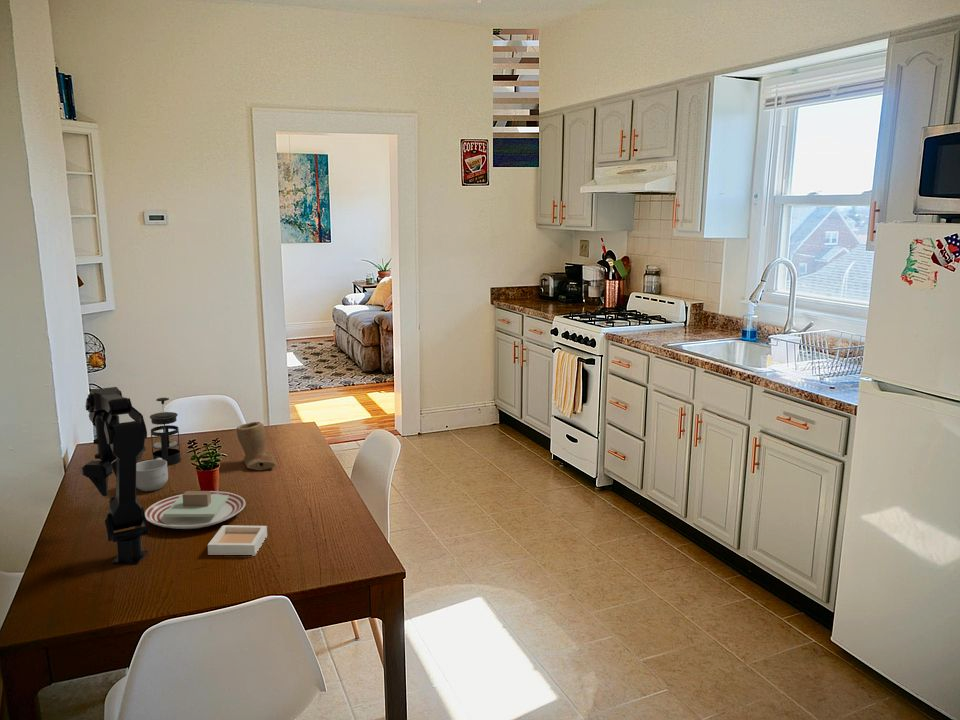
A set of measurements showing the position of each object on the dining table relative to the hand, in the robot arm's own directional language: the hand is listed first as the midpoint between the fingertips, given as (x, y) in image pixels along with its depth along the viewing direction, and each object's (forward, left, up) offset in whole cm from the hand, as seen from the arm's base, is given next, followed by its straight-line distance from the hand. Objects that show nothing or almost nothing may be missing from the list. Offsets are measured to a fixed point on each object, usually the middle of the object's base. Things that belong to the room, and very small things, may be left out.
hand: (113, 489), depth 198 cm
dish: (-6, -35, -13) cm, 38 cm away
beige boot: (+57, -22, -13) cm, 62 cm away
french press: (+59, +10, -13) cm, 61 cm away
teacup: (+36, +5, -13) cm, 39 cm away
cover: (+13, -18, -10) cm, 24 cm away
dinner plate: (+13, -17, -14) cm, 25 cm away
